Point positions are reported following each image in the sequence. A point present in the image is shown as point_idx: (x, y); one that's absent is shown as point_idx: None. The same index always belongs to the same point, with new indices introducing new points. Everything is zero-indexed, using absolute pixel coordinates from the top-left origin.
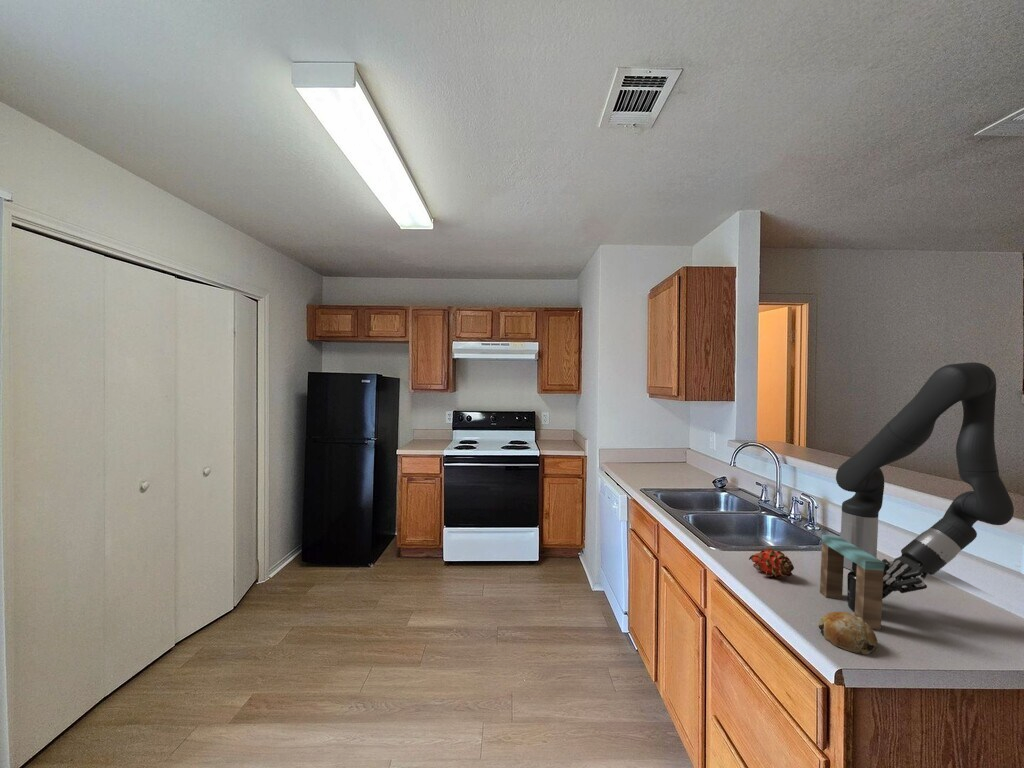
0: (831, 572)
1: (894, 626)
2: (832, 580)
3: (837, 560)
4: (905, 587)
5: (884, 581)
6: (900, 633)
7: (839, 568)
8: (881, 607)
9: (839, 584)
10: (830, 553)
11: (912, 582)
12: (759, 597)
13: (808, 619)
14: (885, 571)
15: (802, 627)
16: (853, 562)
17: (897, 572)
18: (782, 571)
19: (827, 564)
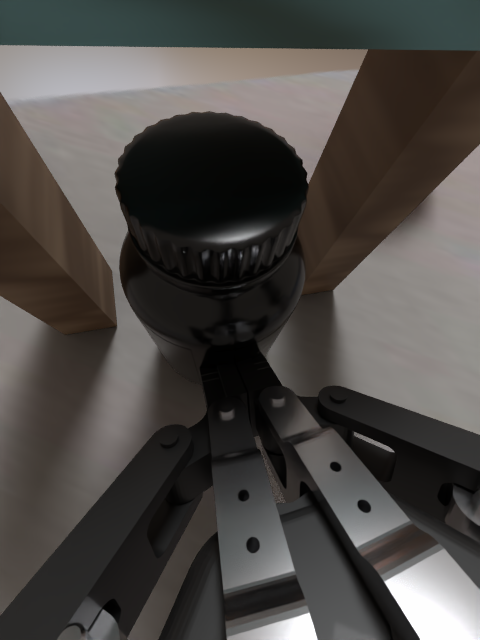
0: (320, 188)
1: (112, 401)
2: (308, 222)
3: (367, 147)
4: (175, 522)
5: (260, 398)
6: (52, 399)
7: (344, 200)
8: (8, 298)
9: (311, 257)
10: (376, 60)
11: (20, 592)
12: (193, 85)
13: (85, 150)
14: (400, 452)
15: (26, 121)
16: (233, 117)
17: (256, 507)
18: None
19: (331, 133)
